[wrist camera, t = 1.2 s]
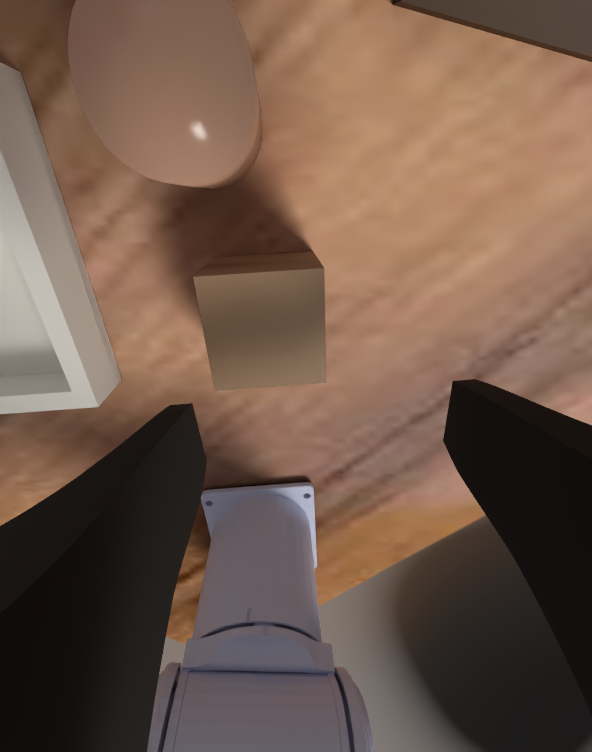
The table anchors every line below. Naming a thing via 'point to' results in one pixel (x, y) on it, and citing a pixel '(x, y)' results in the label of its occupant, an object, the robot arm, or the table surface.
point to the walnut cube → (263, 319)
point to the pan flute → (520, 20)
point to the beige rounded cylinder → (168, 87)
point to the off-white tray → (43, 279)
